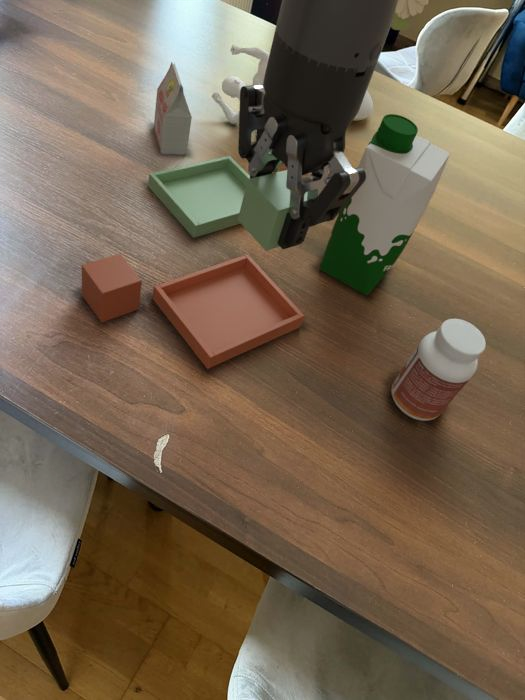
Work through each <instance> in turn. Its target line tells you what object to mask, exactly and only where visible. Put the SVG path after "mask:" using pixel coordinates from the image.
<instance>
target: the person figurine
mask: <svg viewBox="0 0 525 700" xmlns="http://www.w3.org/2000/svg"><path fill="white" fill-rule="evenodd" d="M229 51H230V52H231V55H232V56H235V55H240V54H245V55H248V56H251V57H252V58H255V59H257V60H259V62H258V66H257V72H256V73H255V74H254V75H253V77H252V83H251V85H257V84H263V81H264V76H265V72H266V68H267V63H268V59H269V55H270V52H268V51H266V50H264V49H262V48H259V47H243V46H238V45H235V44H231V48H230V50H229ZM243 86H248V84H247V83H245V81H243V80H242V79H240V78H239V77H238V76H234V75H229V76H227V77H225V78H224V79H223V81H222V83H221V89H222V92H223V93H224V94H225V95H226V96H229V97H230V98H232V99H234V98H235V99H238V101H240V90H241V88H242V87H243ZM211 98H212V99H213V101H215V103H216V104H218V105H219V107H220V108H221V109H222V111H223V114H224V115H225V117H226V119H227V120H228V122H229V123H230V124H231V125H238V126H239V112H240V110H239V111H238V112H237V113H236V112H235V111H234V110H233V109H232V108H231V107H230V106H229V105H228V104H227V103H226V102H225V100H224V99H223V96H222V95H221V94H220V92H218V91H214V92H213V93H212V94H211Z"/></svg>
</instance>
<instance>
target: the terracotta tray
mask: <svg viewBox="0 0 525 700" xmlns="http://www.w3.org/2000/svg"><path fill="white" fill-rule="evenodd" d="M152 299H153V302H154V303H156V305H157V306H158V308H159V309H160V310H161V311H162V313H163V314H164V315H165V316H166V318H167V319H168V321H170V323H171V324H172V325H173V327H174V328H175V329H176V331H177V332H178V333H179V334H180V336H181V337H182V338H183V339H184V341H185V342H186V343H187V345H188V346H189V347H190V349H191V350H192V351H193V353H194V354H195V355H196V357H197V358H198V359H199V360H200V361H201V364H203V365H204V367H205V368H206V369H207V370H209V369H212V368H213V367H215V366H217V365H219V364H222V363H223V362H227V361H229V360H230V359H233V358H235V357H237V356H240V355H241V354H243V353H246V352H248V351H250V350H253V349H255V348H257V347H260V346H263V344H266V343H268V342H270V341H272V340H275V339H277V338H279V337H282V336H283V335H286V334H288V333H290V332H292V331H295V330H297V329H299V328H301V326H302V323H303V322H304V319H305V317H306V316H305V314H304V313H303V312H302V311H301V310H300V309H299V308H298V307H297V306H296V304H294V302H293V301H292V300H291V299H290V298H289V297H288V296H287V294H285V293H284V292H283V290H282V289H281V288H280V287H279V286H278V284H276V283H275V281H273V279H272V278H271V277H270V276H269V275H268V274H267V273H266V272H265V271H264V270H263V269H262V267H261V266H260V265H259V264H258V263H257V262H256V261H255V260H254V259H253V258H252V256H250V254H249V253H247V254H244V255H243V254H242V255H241V256H238V257H235V258H232V259H229V260H226V261H223V262H219V263H217V264H214V265H212V266H211V265H210V266H208V267H205V268H202V269H200V270H197V271H194V272H191V273H188V274H185V275H182V276H179V277H176V278H174V279H169V280H167V281H164V282H162V283H159V284H156V285H154V286H153V291H152Z"/></svg>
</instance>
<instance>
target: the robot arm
mask: <svg viewBox="0 0 525 700" xmlns="http://www.w3.org/2000/svg"><path fill="white" fill-rule="evenodd" d="M397 2H398V0H281V3H280V8H279V11H278V17H277V21H276V25H275V29H274V33H273V38H272V42H271V47H270V51H269V54H270V55H269V59H268V63H267V68H266V72H265V76H264V81H263V84H257V85H252V84H251V85H250V84H249V85H247V86H243V87H242V88H241V90H240V100H239V111H240V112H239V111H238V112H239V125H238V145H237V147H238V148H237V152H238V155H239V157H240V158H241V159H242V160H243V159H244V160H245V159H246V161H247V162H248V166H247V171H248V174H249V175H250V179H251V178H255V177H259V176H263V175H267V174H272V173H276V172H278V169H280V167H281V166H282V164H283V165H284V166H285V168H286V170H287V182H286V187H287V189H288V190H290V206H289V213H287V215H286V218H285V221H284V224H283V227H282V230H281V233H280V236H279V240H278V245H279V246H280V247H279V248H280V249H282V250H286V249H290V248H293V247H297V246H299V245H301V244H302V243H304V242H305V239H306V236H307V233H308V232H309V228H312V227H314V226H317V225H320V224H322V223H325V222H331V221H334V220H336V218H337V217H338V214H339V212H340V211H341V210H342V209H343V207H344V206H345V205H346V204H347V203H348V201H349V200H350V199H351V198H352V196H353V195H354V194H355V193H356V191H357V190H358V189H359V188H360V186H361V185H362V184H363V183H364V181H365V179H366V173H365V171H364V169H363V168H361V167H359V168H358V167H355V168H354V167H353V165H352V163H350V161H349V159H348V158H347V156H346V155H345V154H344V153H345V149H346V135H347V130H348V127H349V126H350V125H351V123H352V122H353V119H354V118H355V116H356V115H357V113H358V112H359V109H360V107H361V104H362V101H363V99H364V96H365V93H366V91H368V88H369V85H370V83H371V80H372V78H373V74H374V72H375V69H376V67H377V65H378V61H379V59H380V57H381V53H382V51H383V49H384V45H385V43H386V40H387V37H388V35H389V32H390V30H391V24H392V21H393V18H394V14H395V10H396V6H397ZM254 131H256V133H255V141H252V134H253V132H254ZM309 174H310V175H309ZM305 175H307V176H305ZM306 192H308V195H307V201H304V195H305V193H306Z"/></svg>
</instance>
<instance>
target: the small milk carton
mask: <svg viewBox="0 0 525 700" xmlns="http://www.w3.org/2000/svg"><path fill="white" fill-rule="evenodd" d="M177 69H178V68H177V67H176V63H175V62H173V61H171V62H170V65H169V67H168V70H167V72H166V74H165V76H164V77H163V78H162V81H161V82H160V84H159V85H158V87H157V88H156V97H155V110H154V122H153V130H154V133H155V137H156V141H157V144H158V146H159V152H160V155H161V154H163V155H182V156H183V155H184V156H187V154H188V153H187V151H188V147H189V146H188V145H189V141H190V140H189V139H190V132H191V126H192V117H193V116H192V113H191V111H190V108H189V104H188V102H187V99H186V96H185V93H184V87H183V83H182V81H181V78H180V75H179V71H178V70H177Z"/></svg>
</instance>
